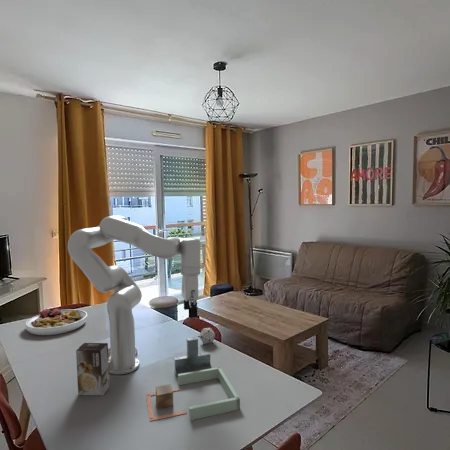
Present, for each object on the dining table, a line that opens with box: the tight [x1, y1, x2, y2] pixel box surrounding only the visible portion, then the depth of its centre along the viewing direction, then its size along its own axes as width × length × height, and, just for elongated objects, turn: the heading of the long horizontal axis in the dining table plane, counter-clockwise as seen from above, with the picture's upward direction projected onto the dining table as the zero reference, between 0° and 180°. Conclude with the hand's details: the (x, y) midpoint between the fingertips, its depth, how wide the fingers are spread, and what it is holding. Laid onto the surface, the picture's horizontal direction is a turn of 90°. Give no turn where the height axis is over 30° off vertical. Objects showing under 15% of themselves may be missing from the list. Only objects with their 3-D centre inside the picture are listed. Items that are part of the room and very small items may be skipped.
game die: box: [197, 325, 218, 346], centre depth 150 cm, size 9×8×10 cm
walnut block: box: [155, 383, 174, 411], centre depth 104 cm, size 5×5×5 cm
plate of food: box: [25, 308, 88, 336], centre depth 174 cm, size 30×30×8 cm
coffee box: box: [75, 342, 110, 396], centre depth 112 cm, size 9×6×16 cm
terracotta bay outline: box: [146, 388, 187, 422], centre depth 104 cm, size 11×14×1 cm
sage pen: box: [177, 366, 241, 421], centre depth 109 cm, size 16×21×4 cm
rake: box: [174, 336, 212, 378], centre depth 125 cm, size 4×14×13 cm, turn 108°
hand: (190, 313), depth 124 cm, fingers open, 9 cm apart
